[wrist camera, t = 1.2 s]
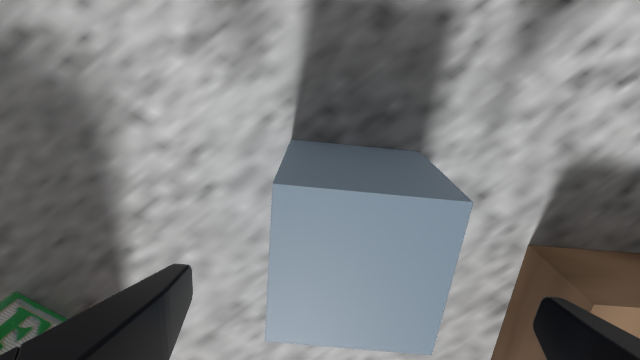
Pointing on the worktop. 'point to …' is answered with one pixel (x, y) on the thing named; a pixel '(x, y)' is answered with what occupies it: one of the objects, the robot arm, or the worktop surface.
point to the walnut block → (569, 293)
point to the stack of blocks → (23, 321)
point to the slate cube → (361, 248)
